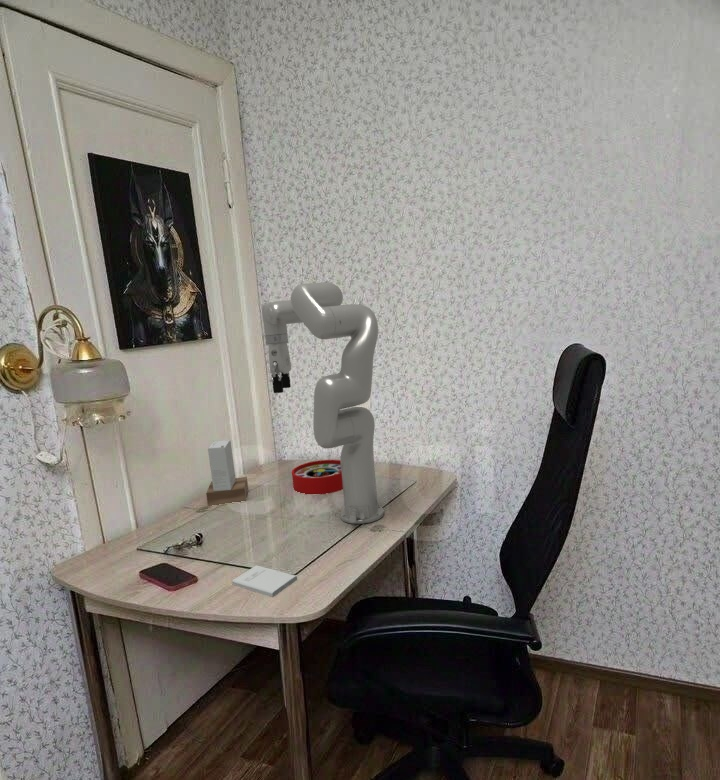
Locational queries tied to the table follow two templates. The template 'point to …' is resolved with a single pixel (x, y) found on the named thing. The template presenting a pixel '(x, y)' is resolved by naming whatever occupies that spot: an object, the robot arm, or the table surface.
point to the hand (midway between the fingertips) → (282, 390)
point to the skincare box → (222, 465)
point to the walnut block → (228, 493)
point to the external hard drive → (264, 580)
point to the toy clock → (318, 477)
